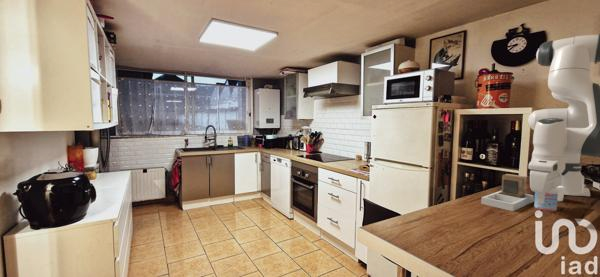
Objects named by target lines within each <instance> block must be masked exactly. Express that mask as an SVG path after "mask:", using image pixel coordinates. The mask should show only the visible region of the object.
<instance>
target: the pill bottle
mask: <svg viewBox="0 0 600 277" xmlns="http://www.w3.org/2000/svg"><path fill="white" fill-rule="evenodd" d="M555 186H556V183H555V182H554V183H552V187H553V188H552V189H551V190H549V191H547V192H546V194H545V198H546V201H545V203H544V204H541V203H538V198H537V194H536V192H534V199H533V203H534V204H533V207H534V208H535V209H539V210H542V211H549V212H550V211H551V212H556V211H557V209H558V201H557V199H558V191H557V190H556V189H555V188H554V187H555Z"/></svg>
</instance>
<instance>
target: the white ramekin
mask: <svg viewBox="0 0 600 277" xmlns="http://www.w3.org/2000/svg"><path fill="white" fill-rule="evenodd" d="M556 190H557V191H558V199H557V202H563V201H564V196H565V195H564V192H565V187H563V186H558V187H556Z"/></svg>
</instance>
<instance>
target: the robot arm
mask: <svg viewBox="0 0 600 277" xmlns="http://www.w3.org/2000/svg"><path fill="white" fill-rule="evenodd" d="M535 56H536V57H535V58H536V61H537V64H538V65H540V66H541V67H549V70H548V77H547V88H548V89H549V90H550V91H551V96H552V97H553V98H554V99H555V100H557V101H560V102H563V103H566V104H568V107H565V108H563V107H562V108H559V107H558V108H542V109H538V110H533V111H532V112H531V113H530V114H529V116H528V117H527V124H528V127H529V128H530V129H531V130H532V131H533V135H532V136H533V137H532V144H533V151H532V153H531V159H530V161H529V163H528V170H530V171H529V188H530V190H531V192H534V193H535V192H536V194H537V198H538V203H541V204H544V203H545V201H546V198H545V194H546V192H547V191H549V190H551V189H552V188H553V187H552V183H554V182H555V183H556V186H555V187H554V188H555V189H556V187H558V186H563V187H565V192H564V196H565V195H566V196H576V197H577V196H579V197H582V196H583V197H591V192H590V189H589V188H587V184H585V176H584V175H583V174H582V173H581V171H582V163H581V156H583V157H584V156H585V157H589V158H590V157H592V158H598V157H600V84H598V83H595V82H593V81H592V79H591V68H592V67H591V65H592V63H594V65H596V64H598V63H600V33H598V34H586V35H576V36H571V37H567V38H566V37H565V38H561V39H557V40H552V39H551V40H548V41H545V42H543V43H541V44H540V45H539V48H537V51H536V54H535Z"/></svg>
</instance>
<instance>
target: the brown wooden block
mask: <svg viewBox="0 0 600 277" xmlns="http://www.w3.org/2000/svg"><path fill="white" fill-rule="evenodd" d="M526 179H527V176H524V175H519V174H510V173H505V174H502V175H501V190H502V192H501V194H502V195H507V196H512V197H517V198H524V197H525V194H526V182H527V181H526Z"/></svg>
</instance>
